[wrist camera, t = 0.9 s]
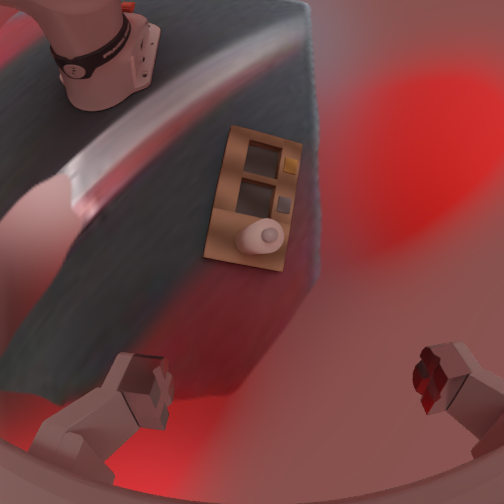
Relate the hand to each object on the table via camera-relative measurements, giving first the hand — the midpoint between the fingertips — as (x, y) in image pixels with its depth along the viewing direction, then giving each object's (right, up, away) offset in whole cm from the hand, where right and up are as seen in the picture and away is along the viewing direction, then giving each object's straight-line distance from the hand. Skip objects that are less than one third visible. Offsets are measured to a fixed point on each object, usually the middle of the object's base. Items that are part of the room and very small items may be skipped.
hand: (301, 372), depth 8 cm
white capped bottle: (-2, +5, +36) cm, 36 cm away
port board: (-1, +12, +39) cm, 40 cm away
